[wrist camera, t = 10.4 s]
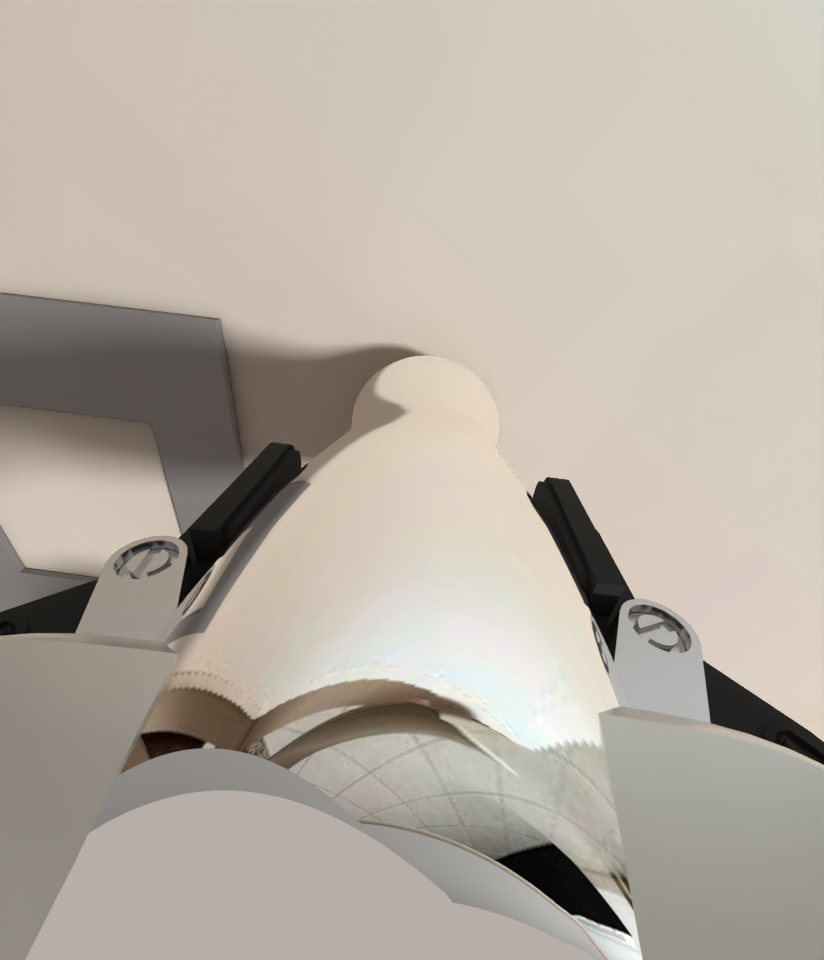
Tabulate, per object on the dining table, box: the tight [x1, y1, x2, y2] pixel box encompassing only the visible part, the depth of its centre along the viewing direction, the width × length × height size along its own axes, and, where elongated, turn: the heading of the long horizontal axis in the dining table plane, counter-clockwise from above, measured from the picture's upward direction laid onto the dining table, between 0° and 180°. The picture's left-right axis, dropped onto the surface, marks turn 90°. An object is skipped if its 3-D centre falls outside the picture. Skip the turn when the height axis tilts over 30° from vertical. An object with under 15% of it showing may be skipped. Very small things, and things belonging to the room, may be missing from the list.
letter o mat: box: [0, 292, 244, 612], centre depth 21 cm, size 22×20×1 cm
